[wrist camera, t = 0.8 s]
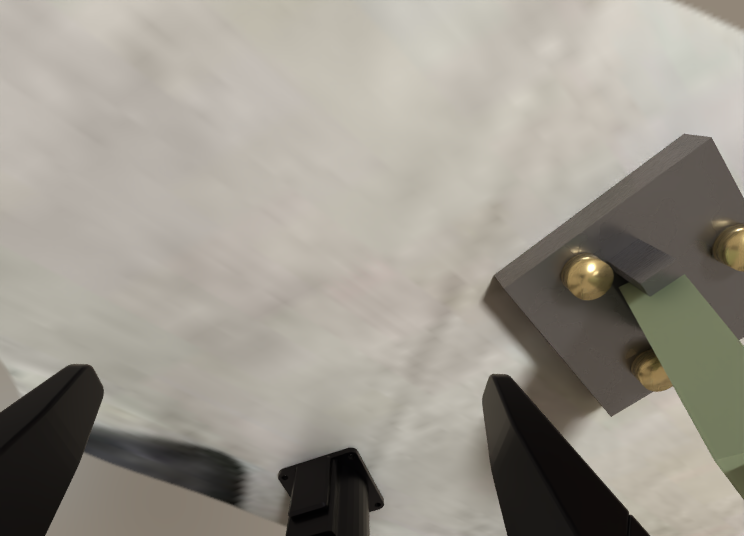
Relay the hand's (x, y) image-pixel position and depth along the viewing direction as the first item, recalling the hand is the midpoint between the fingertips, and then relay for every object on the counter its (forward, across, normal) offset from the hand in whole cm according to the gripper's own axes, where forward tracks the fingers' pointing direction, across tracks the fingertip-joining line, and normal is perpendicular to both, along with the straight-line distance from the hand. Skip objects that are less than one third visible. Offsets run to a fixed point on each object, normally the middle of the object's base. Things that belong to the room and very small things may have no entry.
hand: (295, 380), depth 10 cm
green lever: (+12, -19, +8) cm, 24 cm away
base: (+15, -19, +8) cm, 26 cm away
